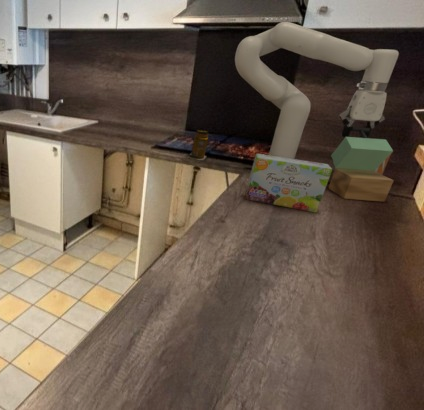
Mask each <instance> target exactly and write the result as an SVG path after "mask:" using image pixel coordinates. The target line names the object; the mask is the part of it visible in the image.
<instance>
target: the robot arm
mask: <svg viewBox="0 0 424 410" xmlns="http://www.w3.org/2000/svg"><path fill="white" fill-rule="evenodd" d="M279 49H284V50H287V51H290V52H293V53H295V54H298V55H301V56H303V57H306V58H310V59H313V60H319V61H323V62H327V63H330V64H333V65H335V66H339V67H342V68H344V69H346V70H348V71H352V72H359V71H364V73H363V76H362V78H361V81H360V82H358V83H357V84H356V87H357V88H358V89H356V91H355V92H354V94H353V96H351V97H352V98H351V100H350V102H349V104H348V106H347V108H346V109H345V110H343V111H342V112H341V113H340V114H339V115H338V117H339V119H340V121H341V122H342V125H343V129H342V132H341V137H343V138H345V137H350V135H351V132H352V131H351V129H352V127H353V126H352V125H353V124H354V123H355V122H356V121H363V122H365V126H363V127H364V128H370V131H369V132H365V134H366V136H367V138H369V136H370V135H371V131H372V129H374V128H375V127H376V126H378V125H379V124H380V123H382V122H383V121H385V120H386V117H385V116H384V114H383V113H384V109H385V104H386V102H387V95H388V94H387V93H388V92H386V90H387V87H388V84H389V82H390V79H391V76H392V73H393V72H394V71H393V70H394V68H395V65H396V64H397V61H398V58H399V55H400V53H399V51H398V50H397V49H388V48H385V49H383V48H379V49H378V48H377V49H370V48H369V47H365V46H363V45H361V44H358V43H354V42H351V41H347V40H345V39H341V38H338V37H335V36H333V35H330V34H327V33H325V32H321V31H318V30H315V29H312V28H309V27H306V26H303V25H299V24H296V23H294V22H290V21H281V22H279V23H277V24H276V25H275V26H274V27H272V28H269V29H267V30H265V31H263V32H261V33H258V34H255V35H250V36H246V37H245V38H243V39H242V40H241V41H240V42H239V44H238V45H237V48H236V51H235V56H234V64H235V69H236V71H237V72H238V74H239V75H240V77H241V78H242V79H243V80H244V81H245V82H247V84H249V86H251V87H252V88H253V89H254V90H255V91H257V92H258V93H259V94H260V95H261V96H262V97H263V99H265V100H267V101H269V102H271V104H273V105H274V106H276V107H277V109H279V110H280V112H279V116H278V120H277V123H276V127H275V130H274V134H273V138H272V141H271V145H270V149H269V152H268V155H270V156H277V157H284V158H290V159H296V155H297V151H298V149H299V146H300V142H301V139H302V135H303V132H304V129H305V127H306V123H307V121H308V118H309V116H310V112H311V107H312V105H311V101H310V99H309V98H308V96H307V95H306V94H305V93H304V92H302V91H301V90H300V89H298V88H297V87H296V86H295V85H294V84H292V83H291V82H290V81H289V80H287V78H285V77H284V76H282V75H278V74H277V73H276V72H275V71H273V70H272V69H270V68H269V66H267V64H265V63H264V62H263V61H262V60H261V58H260V57H262V56H266V55H268V54H270V53H272V52H275V51H278V50H279ZM359 138H362V137H361V135H360V137H359Z"/></svg>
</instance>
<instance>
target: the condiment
mask: <svg viewBox="0 0 424 410" xmlns="http://www.w3.org/2000/svg"><path fill="white" fill-rule="evenodd" d="M208 141H209V131H208V130H203V129H197V130H196V131H195V136H193V142H192V147H191V152H190V153H189V155H188V156H187V158H189V159H192V160H198V161H204V160H205V159H206V158H207V155H206V151H207V146H208Z"/></svg>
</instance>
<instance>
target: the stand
mask: <svg viewBox="0 0 424 410" xmlns="http://www.w3.org/2000/svg"><path fill="white" fill-rule="evenodd" d="M394 181H395V180H394V179H392V178H389V177H388V176H385V175H384V174H382V175H381V174H379V173H377V172H375V171H366V170H354V169H341V168H335V167H334V171H333V174H332V177H331V179H330V182H329V185H328V189H329V190H330V191H331V192H333V193H334V194H336V195H337V196H339V197H341V199H344V200H359V201H371V202H372V201H373V202H383V203H385V202H386V199H387V197H388V195H389V192H390V190H391V189H392V185H393V184H394Z"/></svg>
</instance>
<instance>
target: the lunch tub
mask: <svg viewBox="0 0 424 410" xmlns="http://www.w3.org/2000/svg"><path fill="white" fill-rule="evenodd" d="M351 127H352V129H351V131H350V132H358V133H359V135H360V136H361V137H362V138H361V137H357V136H356V137H355V136H349V137H343V139H342V141H341V142H340V144H339V145H338V146H337V147H336V148H335V150H334V151H333V152H332V154H331V155H330V158H331V159H332V161H333V162H332V164H333V166H334V169H335V168H339V169H353V170H368V171H375V170H376V169H377V168H378V167H379V166H380V165H381V164H382V162H383V161H384V160H385V159H386V158H387V157H388V156H389V155H390V154H391V155H392V154H393V152H394V150H393V148H392V147H391V145H390V144H389V142H388V140H387V139H384V138H372V137H371V138H370V137H368V138H367V136H366V134H365V132H369V131H370V128H364V127H365V126H363V127H361V126H351Z"/></svg>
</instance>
